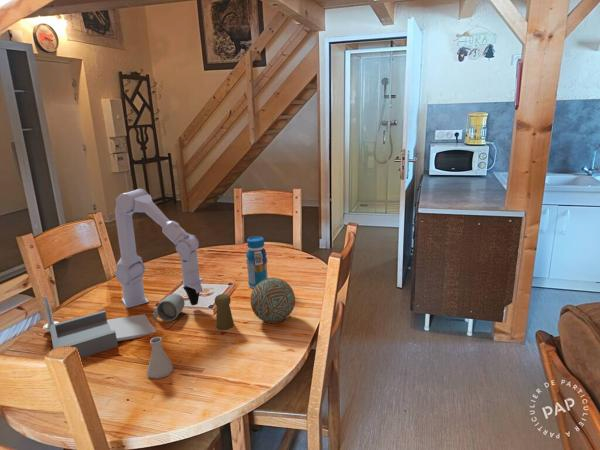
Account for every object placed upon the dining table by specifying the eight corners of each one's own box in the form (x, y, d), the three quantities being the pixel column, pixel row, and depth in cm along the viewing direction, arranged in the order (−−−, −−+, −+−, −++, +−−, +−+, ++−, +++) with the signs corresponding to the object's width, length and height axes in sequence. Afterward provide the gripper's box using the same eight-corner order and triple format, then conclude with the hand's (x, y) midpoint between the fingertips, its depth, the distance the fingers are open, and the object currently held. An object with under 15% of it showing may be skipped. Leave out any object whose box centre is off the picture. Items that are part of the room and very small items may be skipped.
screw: (61, 331, 136) (44, 336, 134) (60, 325, 140) (44, 330, 138) (53, 296, 133) (36, 300, 130) (52, 291, 137) (36, 295, 134)
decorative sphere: (267, 306, 149) (264, 268, 145) (303, 314, 142) (302, 274, 138) (243, 325, 136) (239, 284, 132) (282, 335, 129) (279, 292, 125)
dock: (53, 341, 132) (49, 325, 131) (143, 315, 148) (141, 300, 146) (58, 368, 118) (53, 350, 116) (158, 336, 133) (155, 319, 132)
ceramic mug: (187, 310, 148) (184, 291, 146) (178, 321, 140) (175, 301, 138) (158, 310, 149) (155, 291, 147) (149, 321, 141) (145, 301, 139)
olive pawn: (230, 331, 133) (227, 300, 130) (212, 329, 134) (209, 299, 131) (236, 321, 139) (234, 292, 136) (220, 320, 140) (217, 291, 137)
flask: (150, 364, 117) (145, 333, 114) (176, 362, 117) (172, 331, 115) (143, 380, 110) (138, 348, 107) (170, 378, 110) (166, 346, 108)
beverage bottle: (244, 287, 165) (240, 240, 160) (254, 279, 173) (251, 234, 167) (263, 290, 162) (259, 242, 157) (272, 282, 170) (269, 236, 164)
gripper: (208, 272, 141) (212, 308, 145) (193, 261, 153) (197, 294, 156) (189, 278, 137) (193, 314, 141) (175, 265, 149) (179, 299, 153)
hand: (194, 304), depth 148 cm, fingers closed
